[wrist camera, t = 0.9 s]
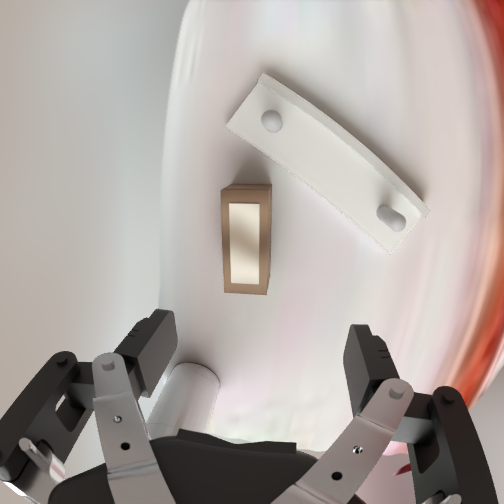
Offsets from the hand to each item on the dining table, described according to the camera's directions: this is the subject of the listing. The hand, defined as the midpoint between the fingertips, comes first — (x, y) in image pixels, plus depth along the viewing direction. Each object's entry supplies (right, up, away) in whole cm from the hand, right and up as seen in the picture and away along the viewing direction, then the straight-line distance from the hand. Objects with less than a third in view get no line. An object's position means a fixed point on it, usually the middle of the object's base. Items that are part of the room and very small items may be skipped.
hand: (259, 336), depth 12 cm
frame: (0, +6, +25) cm, 25 cm away
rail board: (+10, +14, +20) cm, 26 cm away
